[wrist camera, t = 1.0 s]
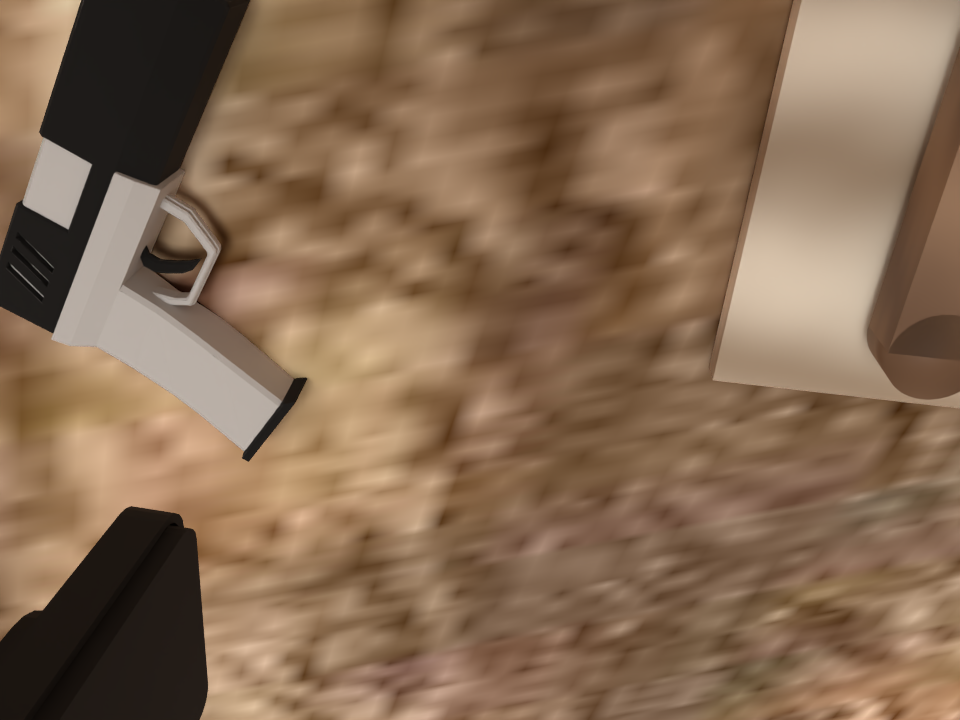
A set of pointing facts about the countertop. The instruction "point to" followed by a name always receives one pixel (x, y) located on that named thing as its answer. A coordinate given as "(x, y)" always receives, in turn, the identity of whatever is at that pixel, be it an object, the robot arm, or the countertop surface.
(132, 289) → the toy gun
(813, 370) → the hinge board
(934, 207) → the walnut link
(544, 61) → the countertop surface
